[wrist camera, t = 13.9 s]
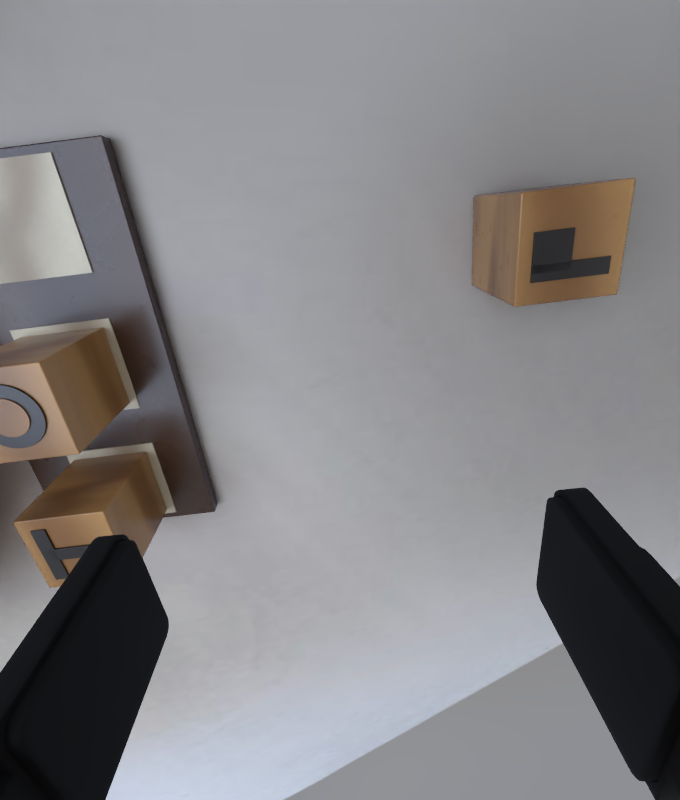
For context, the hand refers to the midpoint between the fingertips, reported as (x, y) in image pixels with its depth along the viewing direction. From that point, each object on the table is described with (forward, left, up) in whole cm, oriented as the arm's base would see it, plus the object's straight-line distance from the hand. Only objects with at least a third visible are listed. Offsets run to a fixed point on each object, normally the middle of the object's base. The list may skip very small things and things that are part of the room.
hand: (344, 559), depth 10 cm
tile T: (+14, +7, -15) cm, 21 cm away
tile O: (+14, -1, -15) cm, 20 cm away
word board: (+14, -1, -16) cm, 21 cm away
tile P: (-10, -5, -16) cm, 19 cm away
